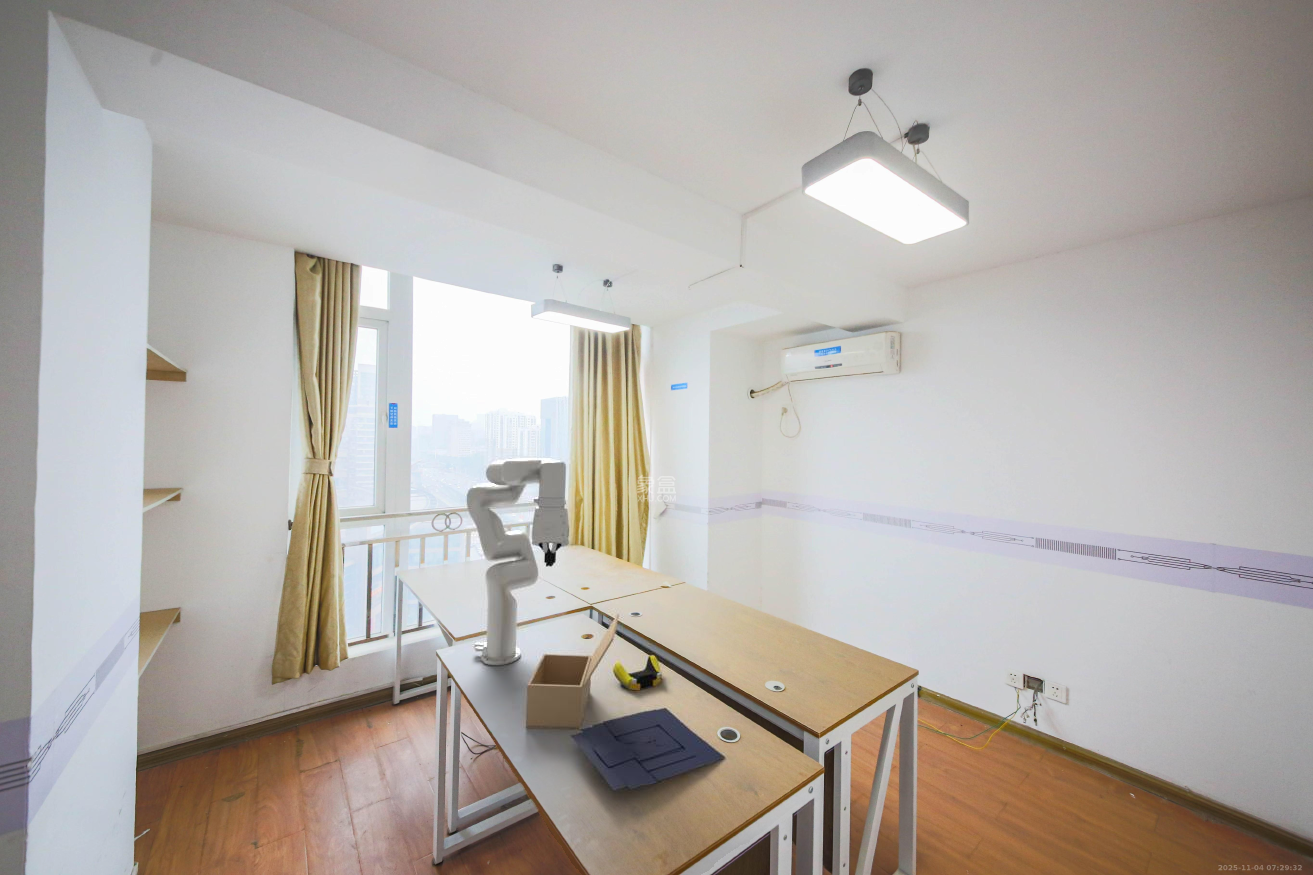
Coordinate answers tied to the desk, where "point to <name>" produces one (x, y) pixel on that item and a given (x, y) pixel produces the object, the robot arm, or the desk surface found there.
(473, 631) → the desk surface
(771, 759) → the desk surface
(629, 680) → the gaming controller
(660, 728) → the folded navy cloth
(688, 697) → the desk surface
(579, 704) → the carton
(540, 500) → the robot arm
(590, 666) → the flap
